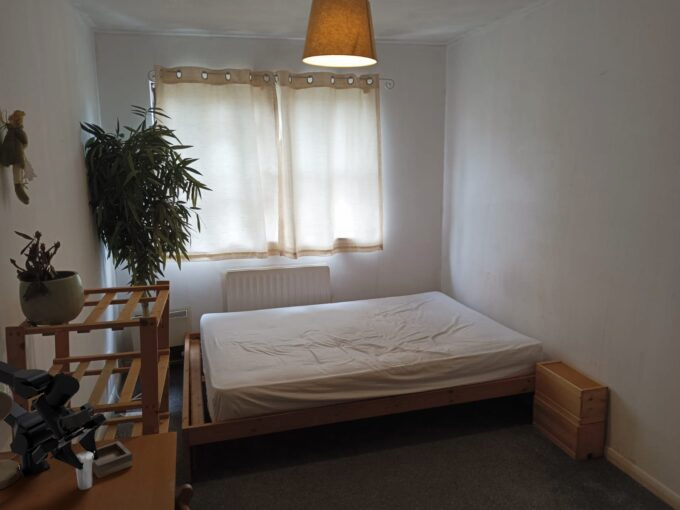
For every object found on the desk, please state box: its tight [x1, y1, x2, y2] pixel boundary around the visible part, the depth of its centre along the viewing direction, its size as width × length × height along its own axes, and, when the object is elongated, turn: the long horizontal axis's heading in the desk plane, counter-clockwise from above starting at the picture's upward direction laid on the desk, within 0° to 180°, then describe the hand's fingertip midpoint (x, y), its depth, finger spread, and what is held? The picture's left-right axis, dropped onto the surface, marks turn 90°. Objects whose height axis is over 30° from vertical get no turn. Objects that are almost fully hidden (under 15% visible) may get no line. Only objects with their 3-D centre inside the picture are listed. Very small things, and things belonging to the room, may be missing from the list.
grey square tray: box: [93, 440, 133, 479], centre depth 146 cm, size 9×9×4 cm
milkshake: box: [75, 450, 95, 491], centre depth 136 cm, size 4×5×10 cm
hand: (89, 464), depth 135 cm, fingers closed on milkshake, 4 cm apart
